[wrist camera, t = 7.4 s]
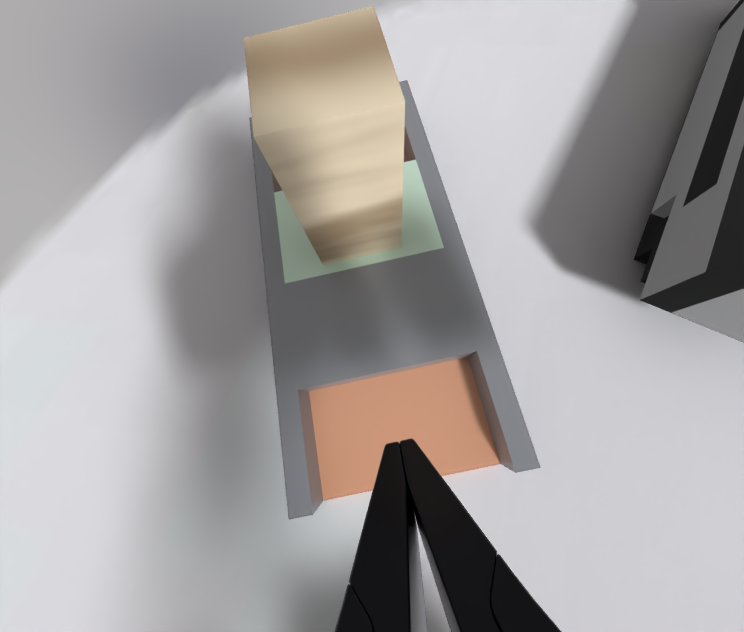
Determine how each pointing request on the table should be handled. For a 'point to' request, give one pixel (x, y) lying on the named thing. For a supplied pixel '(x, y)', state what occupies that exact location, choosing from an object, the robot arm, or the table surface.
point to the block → (332, 130)
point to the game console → (704, 200)
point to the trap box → (383, 345)
